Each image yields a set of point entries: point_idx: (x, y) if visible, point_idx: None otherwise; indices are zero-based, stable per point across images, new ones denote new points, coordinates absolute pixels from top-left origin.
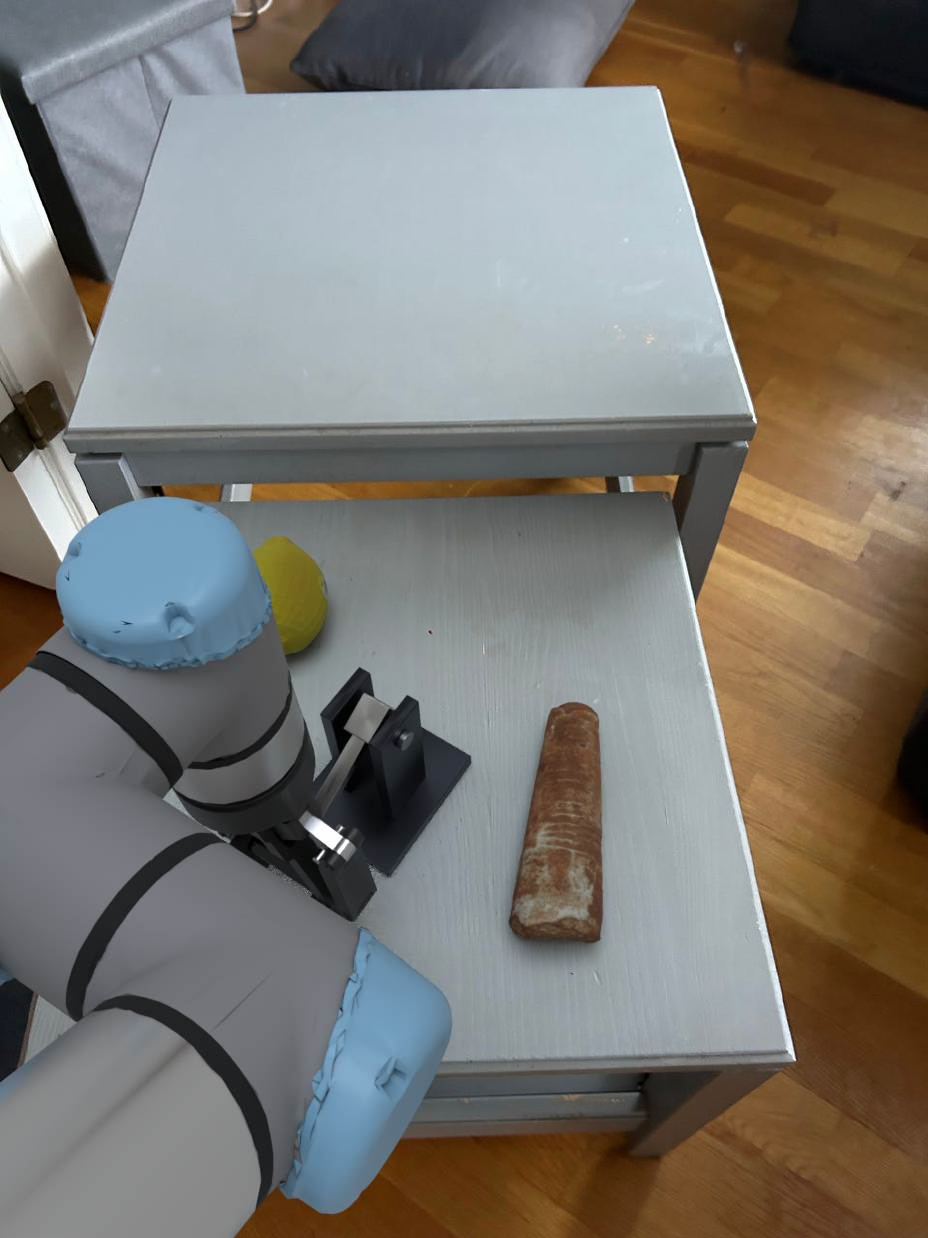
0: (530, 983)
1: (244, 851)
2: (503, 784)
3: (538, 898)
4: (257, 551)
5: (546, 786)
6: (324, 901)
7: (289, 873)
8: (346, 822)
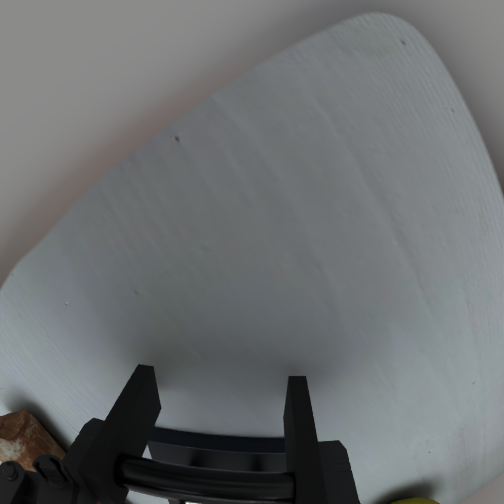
0: (6, 374)
1: (297, 480)
2: (142, 494)
3: (7, 458)
4: None
5: None
6: (48, 492)
7: (181, 484)
8: (229, 464)
